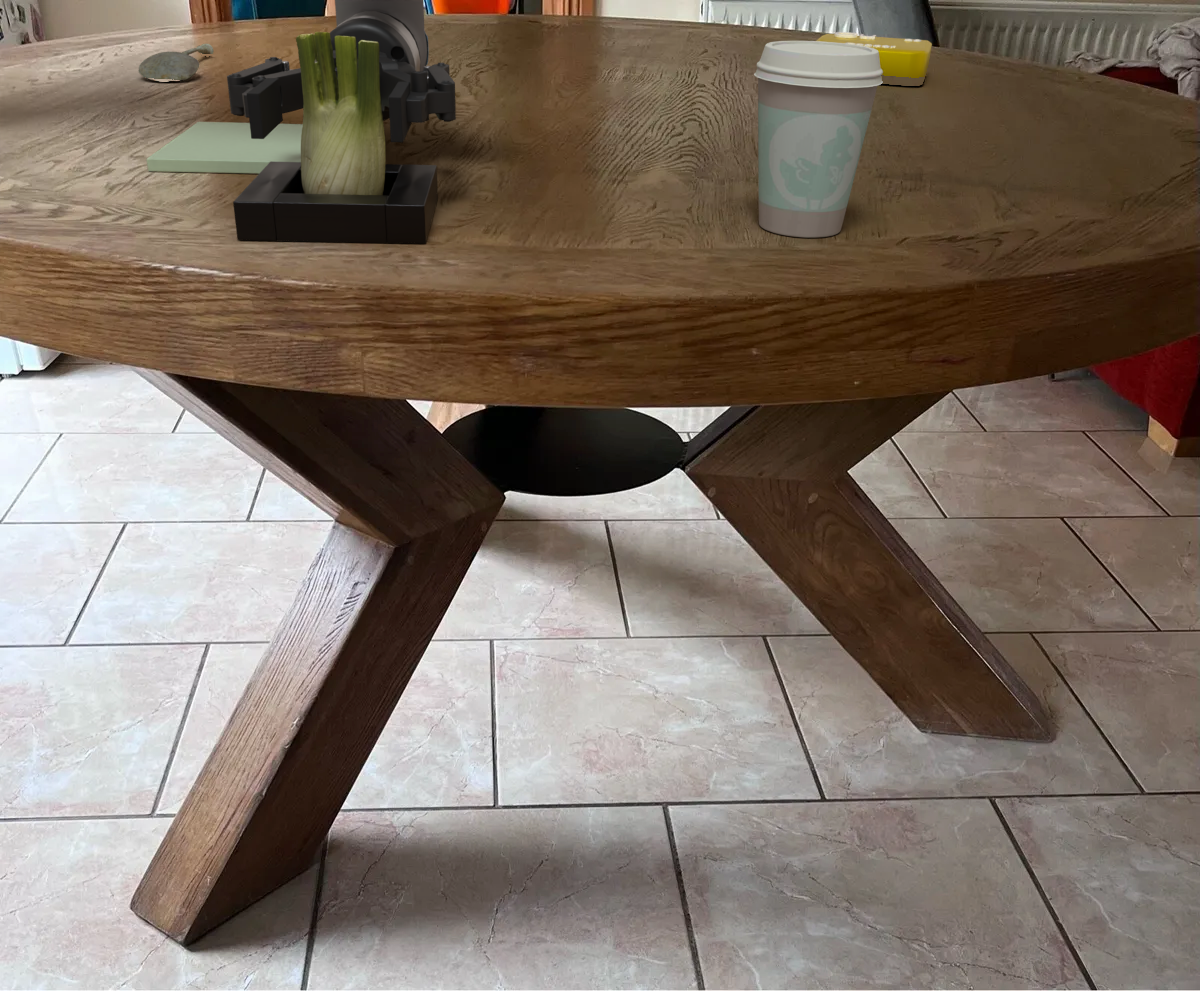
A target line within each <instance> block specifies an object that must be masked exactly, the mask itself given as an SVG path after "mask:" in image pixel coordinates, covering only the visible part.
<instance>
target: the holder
mask: <svg viewBox="0 0 1200 991" xmlns="http://www.w3.org/2000/svg"><path fill="white" fill-rule="evenodd" d="M438 194H439V193H438V165H436V164H399V163H398V164H397V163H396V164H395V163H386V165H385V180H384V190H383V195H342V194H305V193H304V190H303V187H302V178H301V162H270V163H269V164H268V165H267V166H266V167H265V168H264V169H263V170H262V171H261V172H260V173H259V174H257V175H256V176H255V177H254V179H253V180H252V181H251V182H250V183H249V184H248V185H247V186H246V188H244V190H243V191H242V192H241V193H240V194H238V196H237V197H236V198H235V199H234V200H233V202H232V205H233V214H234V220H235V221H234V222H235V229H236V239H237V241H249V242H250V241H253V242H254V241H255V242H301V243H302V242H304V243H350V244H351V243H352V244H353V243H359V244H360V243H361V244H363V243H364V244H412V245H413V244H415V245H417V244H419V245H425V244H427V240H428V236H429V233H430V229H431V227H432V222H433V218H434V215H435V210H436V206H437V203H438V199H439V197H438V196H439V195H438Z"/></svg>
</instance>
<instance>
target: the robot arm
mask: <svg viewBox="0 0 1200 991" xmlns="http://www.w3.org/2000/svg"><path fill="white" fill-rule="evenodd" d="M424 3H425V2H424V0H334V5H335V6H334V7H335V21H336V27H335V28H333V29H332V30H331V31H330V32H329V33H330V38H331V44H332V48H333V59H334V64H335V72H336V77H337V78H338V73H337V67H336V52H335V36H350V37H355V38H356V48H357V60H358V43H359V42H360V41H361V40H365V41H374V42H378V43H379V73H380V96H381V107H382V119H383V122H385V121H387V120H389V132H390V133H389V134H390V136H389V137H390V143H404V141H405V139H406V137H407V135H408V132H409V130H410V128H411V126H412V124H413V123H414V124H415V123H416V124H419V123H420V124H423V123H425V122H428V121H430V115H436V117H437V119H438V120H439V121H443V122H444V123H450V122H454V121H455V120H456V119H457V108H456V104H457V103H456V82H455V81H454V79H453V78H452V77H451V75H450V74H451V73H450V64H447V63H445V62H437V63H434V64H432V65H428V64H429V55H430V54H429V53H430V52H429V37H428V35H427V33H426V30H425V8H424V6H425V4H424ZM357 64H358V61H357ZM226 80H227V88H228V89H227V90H228V96H229V97H228V98H229V106H230V114H231V115H233V116H237V117H245V118H246V119H248V120H249V123H250V131H251V139H264V138H265V137H266V136H267V135H268V134H269V133H270V132H271V131H272V130H273V129H274V128H275V127H277V126H278V125H279V124H282V122H283V121H284V117H283V115H284V114H288V113H291V112H296V111H300V110H303V105H304V102H303V101H304V100H303V89H302V79H301V69H300V67H298V68H294V69H291V68H290V61H288V60H283V59H282V58H279V57H277V56H270V57H269V58H265V60H264V62H262V63H260V64H256V65H254V66H252V67H248V68H245V69H242V70H239V71H237V72H233V73H231V74H228V75H226ZM337 82H338V80H337Z"/></svg>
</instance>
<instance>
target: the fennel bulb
mask: <svg viewBox="0 0 1200 991" xmlns="http://www.w3.org/2000/svg"><path fill="white" fill-rule="evenodd" d="M295 41H296V46H297V55H298V60H299V61H298V62H299V66H300V67H299V68H300V69H301V79H302V89H303V100H304V101H303V102H304V105H303V109H302V113H303V114H302V124H303V127H302V134H301V178H302V187H303V190H304V193H305V194H342V195H383V190H384V180H385V165H386V164H387V160H386V157H387V156H386V136H385V135H386V134H385V125H384V121H383V119H382V107H381V96H380V73H379V43H378V42H374V41H365V40H361V41H360V42H359V43H358V60H357V48H356V38H355V37H350V36H335V52H336V67H337V73H338V78H337V77H336V72H335V64H334V59H333V48H332V44H331V38H330V32H328V31H315V32H314V33H312V32H311V33H301V34H298V35H297V36H296V38H295ZM357 61H358V64H357ZM337 80H338V82H337Z"/></svg>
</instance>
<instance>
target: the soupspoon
mask: <svg viewBox="0 0 1200 991" xmlns="http://www.w3.org/2000/svg"><path fill="white" fill-rule="evenodd" d="M196 52H198V53H199V54H201V53H202V54H213V55H214V53H215V51H214V47H213V46H212V45H211V44H210V43H202V44H201V45H197V46H196V47H193V48H190V49H187V50H184V51H182V52H180V51H161V52H158V53H155V54H153V55H151V56H149V57H147V58H145V59H144V60H143V61H141V62H140V63H139V67H138V69H137V70H138V73H139V74H140V75H141V76H142V77H143V78H145V77H146V78H154V79H172V80H173V79H174V80H183V81H186V80H188V79H190V78H192V77H193V76H194V75H195V74H196V73H197V72H198V70H199V68H200V62H199V60H198V59H197V58H196V57H193V56H192V54H194V53H196ZM146 78H145V79H146Z"/></svg>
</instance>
